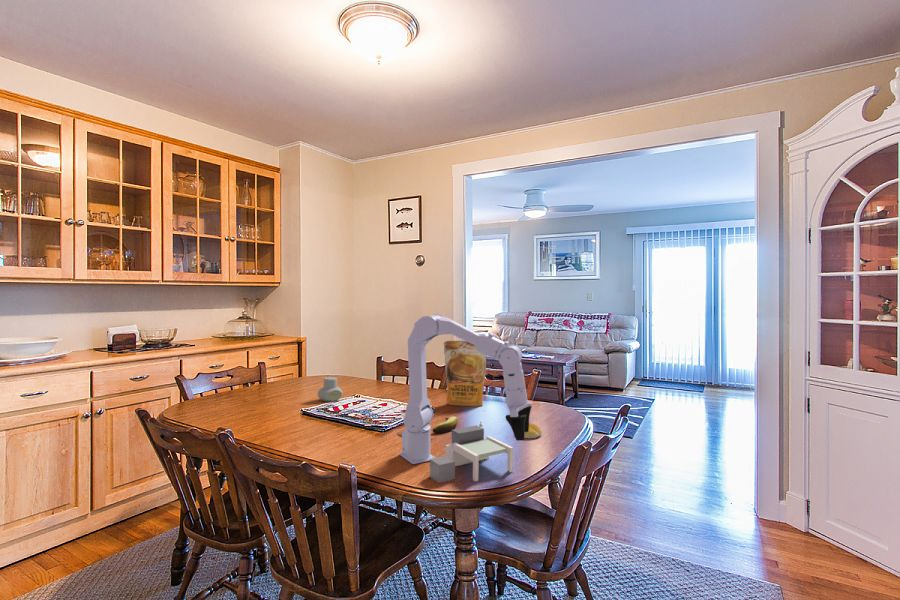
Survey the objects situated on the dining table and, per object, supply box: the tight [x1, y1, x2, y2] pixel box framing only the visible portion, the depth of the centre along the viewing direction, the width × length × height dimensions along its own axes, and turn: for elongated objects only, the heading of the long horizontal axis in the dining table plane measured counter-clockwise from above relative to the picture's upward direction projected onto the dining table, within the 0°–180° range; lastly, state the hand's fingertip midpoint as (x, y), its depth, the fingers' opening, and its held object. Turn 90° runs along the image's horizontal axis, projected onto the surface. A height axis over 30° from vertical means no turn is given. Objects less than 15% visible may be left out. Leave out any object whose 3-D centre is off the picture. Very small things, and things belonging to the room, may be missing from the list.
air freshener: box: [317, 376, 344, 403], centre depth 211 cm, size 11×8×10 cm
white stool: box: [445, 435, 514, 482], centre depth 136 cm, size 16×13×7 cm
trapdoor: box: [451, 425, 506, 458], centre depth 136 cm, size 14×10×4 cm
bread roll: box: [524, 422, 543, 439], centre depth 165 cm, size 8×9×4 cm
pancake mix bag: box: [443, 340, 488, 408], centre depth 205 cm, size 7×19×28 cm, turn 81°
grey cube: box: [429, 455, 456, 484], centre depth 128 cm, size 5×5×5 cm
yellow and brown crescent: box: [397, 416, 483, 444], centre depth 173 cm, size 35×27×4 cm
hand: (522, 435), depth 132 cm, fingers open, 7 cm apart
